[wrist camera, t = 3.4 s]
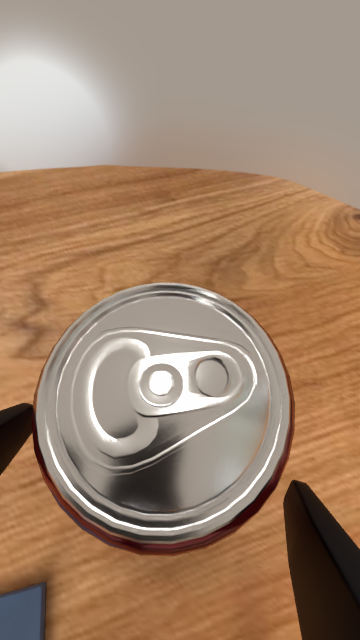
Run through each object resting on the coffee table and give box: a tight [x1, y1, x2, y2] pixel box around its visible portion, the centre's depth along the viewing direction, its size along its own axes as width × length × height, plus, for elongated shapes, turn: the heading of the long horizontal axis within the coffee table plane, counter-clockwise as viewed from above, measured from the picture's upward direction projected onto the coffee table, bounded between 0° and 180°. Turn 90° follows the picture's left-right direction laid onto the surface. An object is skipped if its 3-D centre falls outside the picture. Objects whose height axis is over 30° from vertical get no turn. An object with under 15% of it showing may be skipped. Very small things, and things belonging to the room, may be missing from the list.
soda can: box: [31, 283, 295, 556], centre depth 12 cm, size 7×7×12 cm
